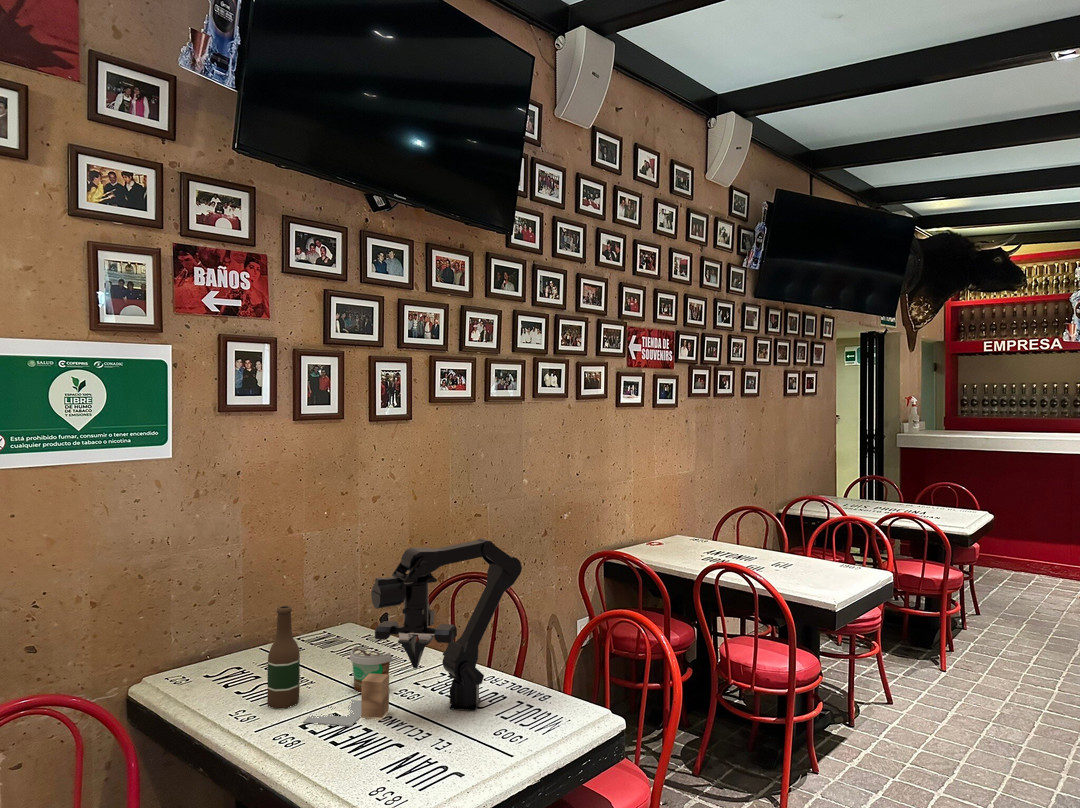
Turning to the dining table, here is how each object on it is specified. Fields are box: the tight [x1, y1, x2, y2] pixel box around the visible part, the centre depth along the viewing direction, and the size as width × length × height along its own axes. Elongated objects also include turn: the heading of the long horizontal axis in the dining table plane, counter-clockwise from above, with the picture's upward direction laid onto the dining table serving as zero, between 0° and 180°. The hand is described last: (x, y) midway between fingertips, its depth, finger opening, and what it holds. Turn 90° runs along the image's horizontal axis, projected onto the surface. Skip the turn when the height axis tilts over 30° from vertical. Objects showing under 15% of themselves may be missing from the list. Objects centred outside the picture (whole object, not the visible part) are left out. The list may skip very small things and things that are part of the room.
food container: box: [349, 645, 393, 693], centre depth 191 cm, size 12×6×10 cm, turn 62°
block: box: [360, 673, 390, 721], centre depth 176 cm, size 5×5×9 cm
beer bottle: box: [266, 605, 301, 709], centre depth 182 cm, size 8×8×24 cm
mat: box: [302, 699, 361, 728], centre depth 177 cm, size 12×14×1 cm
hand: (415, 667), depth 174 cm, fingers closed
